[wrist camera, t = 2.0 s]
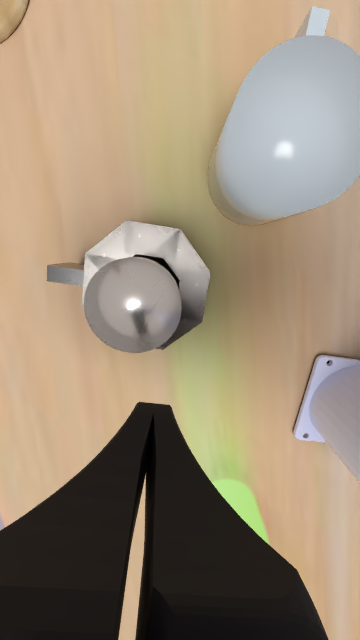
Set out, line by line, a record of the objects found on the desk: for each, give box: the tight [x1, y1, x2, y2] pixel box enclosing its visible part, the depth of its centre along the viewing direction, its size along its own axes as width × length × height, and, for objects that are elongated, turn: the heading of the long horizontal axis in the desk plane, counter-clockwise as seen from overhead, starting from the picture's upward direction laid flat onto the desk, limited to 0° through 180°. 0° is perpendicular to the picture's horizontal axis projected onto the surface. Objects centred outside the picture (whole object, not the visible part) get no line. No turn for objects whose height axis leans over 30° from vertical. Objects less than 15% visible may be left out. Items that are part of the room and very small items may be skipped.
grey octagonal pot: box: [47, 220, 211, 350], centre depth 17 cm, size 9×7×5 cm
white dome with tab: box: [208, 6, 360, 226], centre depth 14 cm, size 6×8×7 cm
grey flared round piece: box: [84, 257, 182, 353], centre depth 13 cm, size 4×4×6 cm
